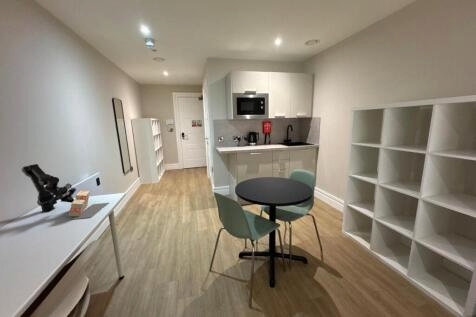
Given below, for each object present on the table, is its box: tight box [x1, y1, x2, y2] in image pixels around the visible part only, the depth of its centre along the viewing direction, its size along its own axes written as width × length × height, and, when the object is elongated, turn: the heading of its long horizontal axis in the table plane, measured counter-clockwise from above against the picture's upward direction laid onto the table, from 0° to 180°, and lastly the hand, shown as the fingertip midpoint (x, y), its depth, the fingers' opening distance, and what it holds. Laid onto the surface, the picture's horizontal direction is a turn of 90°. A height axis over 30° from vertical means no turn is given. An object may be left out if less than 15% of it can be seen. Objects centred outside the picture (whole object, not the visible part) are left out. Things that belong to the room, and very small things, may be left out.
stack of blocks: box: [68, 189, 91, 217], centre depth 151 cm, size 21×6×12 cm, turn 25°
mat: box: [71, 202, 110, 221], centre depth 152 cm, size 13×24×1 cm, turn 5°
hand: (74, 202), depth 149 cm, fingers closed
